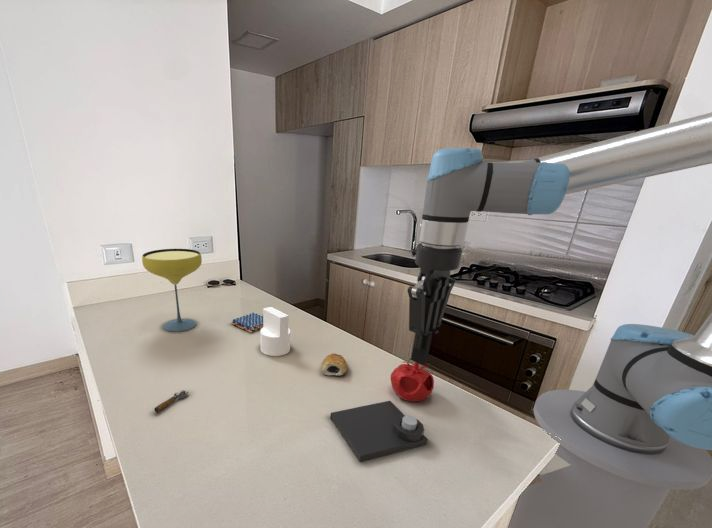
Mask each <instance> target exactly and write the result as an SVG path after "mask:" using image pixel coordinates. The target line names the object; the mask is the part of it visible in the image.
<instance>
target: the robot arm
mask: <svg viewBox="0 0 712 528" xmlns="http://www.w3.org/2000/svg"><path fill="white" fill-rule="evenodd" d="M483 160H484V159H483V150H481V149H480V148H477V147H476V148H475V147H469V148H468V147H449V148H448V147H446V148H441V149H438V150H436V151H435V152H434V154H433V155H432V157H431V161H430V166H429V171H428V176H427V181H426V186H425V193H424V194H425V195H424V202H423V208H422V215H421V223H420V224H419V228H420V229H419V235H418V241H419V242H420V243H419V244H418V245H417V246H416V251H415V257H414V258H415V259H414V264H415V265H416V266H417V267H418V268H419V273H418V275H417V279H416V282H417V283H416V284H415V285H414V286H412V285H410V286H408V287H407V294H408V297H409V300H408V301H409V303H408V305H409V306H408V308H409V309H408V310H409V311H408V331H410V332H412V333H415V334H414V339H413V345H412V352H411V357H410V360H411V361H413V362H414V363H415V362H417V363H420V364H419V365H421V366H425V365H426V364H427V363H428V358H429V353H430V347H431V343H432V338H433V334H437V335H438V333H439V332H440V330H439V329H437V328H439V327H440V326H441V325H442V321H443V318H444V315H445V311H446V309H447V305H448V302H449V299H450V295H451V293H452V290H453V288H454V285H455V284H456V278H452V277H451V272H452V271H455V270H457V269H459V268H460V264H461V259H462V256H463V249H462V248H461V247H462V246H463V245H464V244H465V241H466V237H467V230H468V226H469V221H470V215H471V212H478V213H481V212H483V213H484V212H485V213H499V214H517V215H518V214H519V215H527V216H534V215H551V214H553V213H555V212H556V211H557V210H558V209H559V208H560V207H561V205H562V203H563V201H564V199H565V197H566V195H571V194H575V193H580V192H584V191H589V190H594V189H598V188H602V187H603V188H604V187H608V186H613V185H617V184H623V183H626V182H631V181H636V180H640V179H646V178H649V177H650V178H651V177H655V176H659V175H664V174H668V173H673V172H678V171H683V170H687V169H692V168H697V167H701V166H707V165H711V164H712V111H711V112H707V113H704V114H699V115H696V116H692V117H687V118H683V119H680V120H677V121H673V122H669V123H666V124H662V125H658V126H654V127H650V128H647V129H646V128H645V129H643V130H642V129H641V130H639V131H635V132H631V133H628V134H623V135H619V136H616V137H612V138H608V139H604V140H601V141H596V142H593V143H589V144H585V145H581V146H577V147H574V148H570V149H565V150H562V151H559V152H555V153H551V154H547V155H544V156H540V157H536V158H533V159H528V160H524V161H520V162H488V161H483ZM584 392H585V393H584V394H583V395H582V396H581V397H580V398H579V399H578V400H577V401H576V402H575V403H574V404H573V406H572V409H571V411H570V415H571V418H572V419H573V421H574V422H575V423H576V424H577V425H578V426H579V427H580V428H581V429H583V430H584V431H585V432H587V433H588V434H590V435H592V436H593V437H595V438H597V439H599V440H601V441H603V442H605V443H607V444H609V445H612V446H614V447H617V448H620V449H623V450H626V451H630V452H634V453H640V454H650V455H652V454H659V453H662V452H663V451H664V450H665V449H666V447H667V445H668V444H669V441H670V436H671V437H672V438H674V439H675V440H677V441H679V442H681V443H683V444H686V445H689V446H692V447H695V448H700V449H705V450H707V451H712V312H711V313H710V314H709V315H708V317H707V318H706V319H705V321H704V322H703V323H702V325H701V326H700V327H699V329H698V330H697V331H696V333H694V334H692V333H687V332H684V331H680V330H676V329H671V328H667V327H661V326H656V325H648V324H640V323H639V324H638V323H624V324H622V325H621V324H620V326H618V327H617V328H616V329H615V331H614V333H613V335H612V336H611V337H610V342H609V345H608V346H607V349H606V351H605V354H604V356H603V359H602V362H601V365H600V367H599V369H598V372H597V375H596V377H595V379H594V382H593V383H592V386H590V388H589V389H587V390H586V391H584Z"/></svg>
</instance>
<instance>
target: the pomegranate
mask: <svg viewBox="0 0 712 528" xmlns="http://www.w3.org/2000/svg"><path fill="white" fill-rule="evenodd" d="M419 365H421V364H420V363H417V362H415V361H414V364H410V363H409V361H407V360H406V361H405V360H404V361H403V363H401V364H399V365H398V366H397V367H395V368H394V369H393V370H392V372H391V373H390V384H391V387H392V389H393V392H394V393H395V394H396V395H397V396H398V397H400V399H402V400H404V401H406V402H422V401H425V400H426V399H428V398H429V397H430V396H431V394H432V393H433V390H434V386H435V379H434V376H433V374H432V373H431V372H429V371H428V370H426V369H427V368H429V366H427V365H421V366H419ZM424 368H426V369H424Z"/></svg>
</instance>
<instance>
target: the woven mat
mask: <svg viewBox="0 0 712 528" xmlns="http://www.w3.org/2000/svg"><path fill="white" fill-rule="evenodd" d="M231 325H234V326H236V327H238V328H240V329H242V330H245V331H247V332H249V333H253V331H258V330H259V329H262V328H263V315H261V314H258V313H255V312H252V313H248V314H245V315H243V316H239V317H236V318H233V319H232V321H231Z"/></svg>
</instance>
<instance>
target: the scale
mask: <svg viewBox="0 0 712 528" xmlns="http://www.w3.org/2000/svg"><path fill="white" fill-rule="evenodd" d="M404 416H406V415H405V414H404V413H403V412H402V411H401V410H400V409H399V408H398V407H397V406H396V405H395V404H394V403H393V402H392V401H391V400H387V401H386V400H385V401H382V402H377V403H376V402H375V403H372V404H367V405H362V406H357V407H354V408H353V407H351V408H348V409H342V410H338V411H332V412H330V416H329V418H330V420H331V422H332V424H334V426H335V427H336V429H337V430H338V432H339V434H340V435H341V436H342V438H343V440H344V441H345V442H346V444H347V446H348V447H349V449H350V450H351V452H352V453H353V454H354V456H355V457H356V459H357V460H358V462H359V463H361V462H364V461H365V462H366V461H369V460H371V459H377V458H380V457H383V456H387V455H391V454H396V453H398V452H403V451H406V450H411V449H414V448H418V447H422V446H425V445H427V444H428V440H429V439H428V437H427V436H426V435H425V434H424V433H425V426H424V424H423V423H422V422H421V421H420V420H419V419H417V418H415V419H416V420H417V426H416V429H415V430H414V431H409V430H406V429H404V428H403V427H402V425H401V424H402V419H403V417H404Z"/></svg>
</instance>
